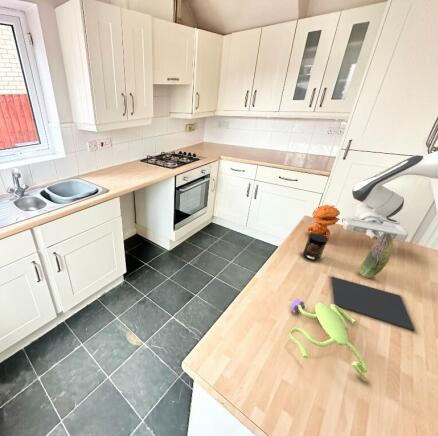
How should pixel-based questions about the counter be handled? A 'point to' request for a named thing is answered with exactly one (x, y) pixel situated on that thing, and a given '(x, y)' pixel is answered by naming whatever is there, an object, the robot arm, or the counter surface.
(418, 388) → the counter surface
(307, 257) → the supplement container
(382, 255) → the vegetable
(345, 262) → the counter surface
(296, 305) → the figurine
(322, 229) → the toy dinosaur
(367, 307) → the mat
